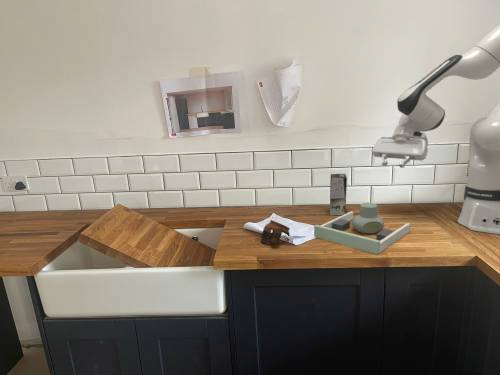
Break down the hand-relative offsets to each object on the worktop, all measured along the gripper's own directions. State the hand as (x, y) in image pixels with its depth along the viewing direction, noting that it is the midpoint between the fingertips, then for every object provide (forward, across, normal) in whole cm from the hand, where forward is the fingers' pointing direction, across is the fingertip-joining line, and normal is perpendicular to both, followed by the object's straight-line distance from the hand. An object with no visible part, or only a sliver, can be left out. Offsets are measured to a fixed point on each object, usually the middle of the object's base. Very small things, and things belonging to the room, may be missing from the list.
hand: (392, 165), depth 133 cm
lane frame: (+31, 0, -1) cm, 31 cm away
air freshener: (+28, 0, +2) cm, 28 cm away
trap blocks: (+31, 0, -1) cm, 31 cm away
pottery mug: (+49, -19, -18) cm, 56 cm away
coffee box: (+19, -20, +12) cm, 30 cm away
